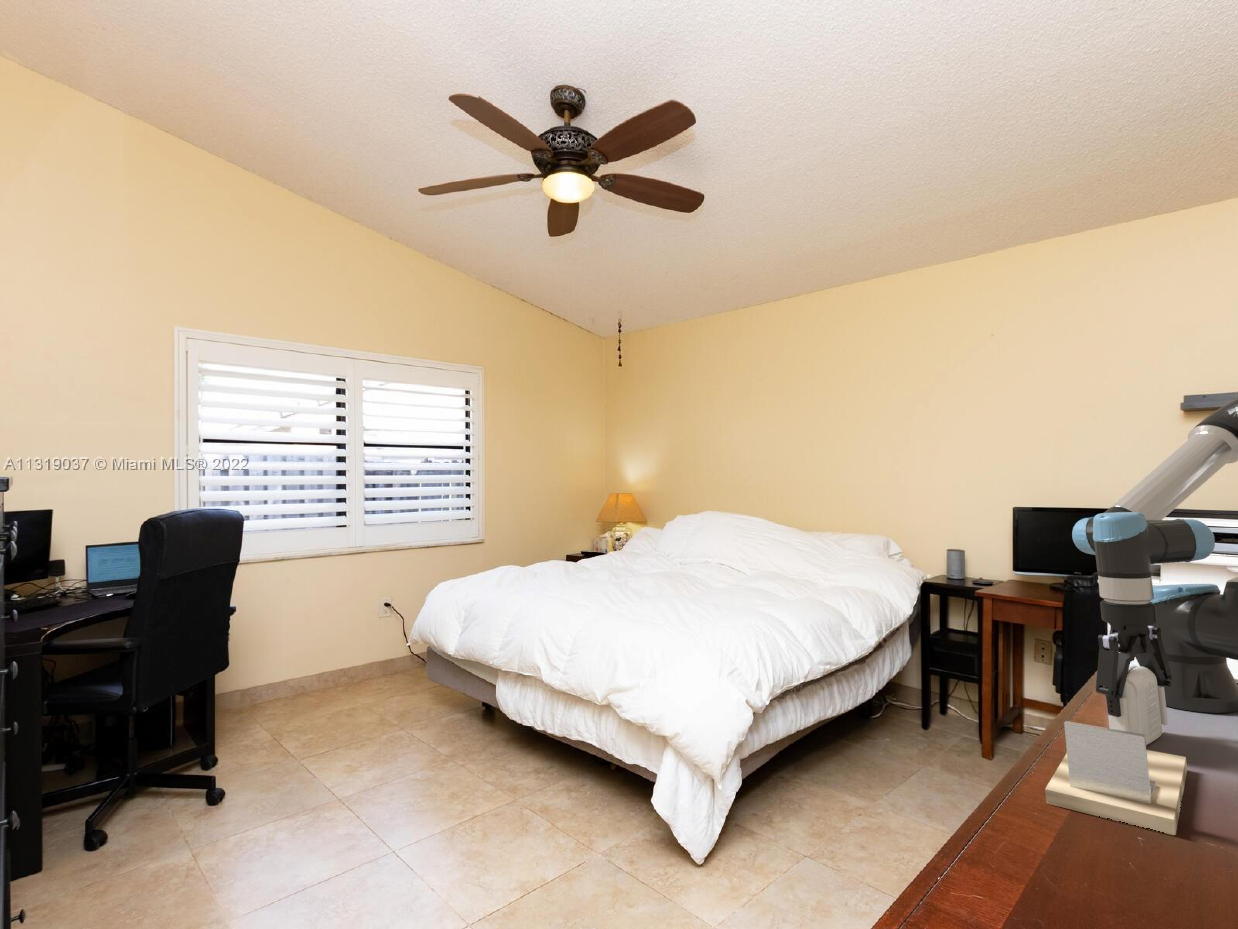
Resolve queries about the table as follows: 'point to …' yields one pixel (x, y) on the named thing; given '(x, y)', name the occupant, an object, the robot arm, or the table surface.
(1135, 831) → the table surface
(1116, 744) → the bookend
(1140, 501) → the robot arm
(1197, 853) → the table surface
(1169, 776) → the shelf board
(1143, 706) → the photo printer
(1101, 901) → the table surface
